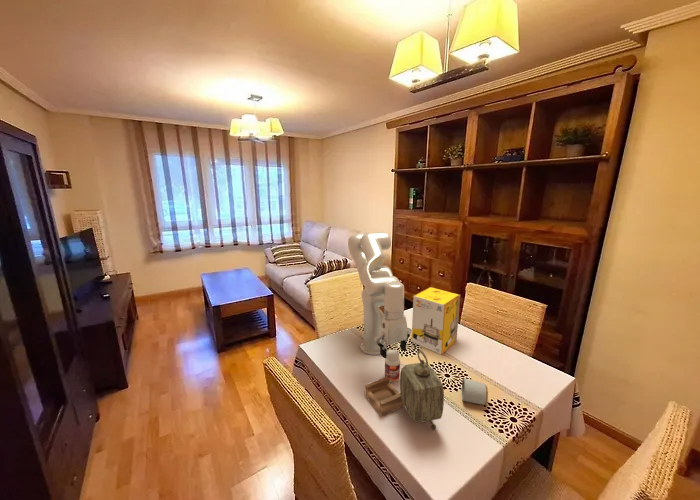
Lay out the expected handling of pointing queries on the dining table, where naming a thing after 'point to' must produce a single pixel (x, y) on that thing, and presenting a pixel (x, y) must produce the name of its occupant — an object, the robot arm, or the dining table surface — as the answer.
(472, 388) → the ceramic mug
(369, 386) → the tray
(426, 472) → the dining table surface
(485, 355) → the dining table surface
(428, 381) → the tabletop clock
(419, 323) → the packaging box
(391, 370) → the pill bottle
